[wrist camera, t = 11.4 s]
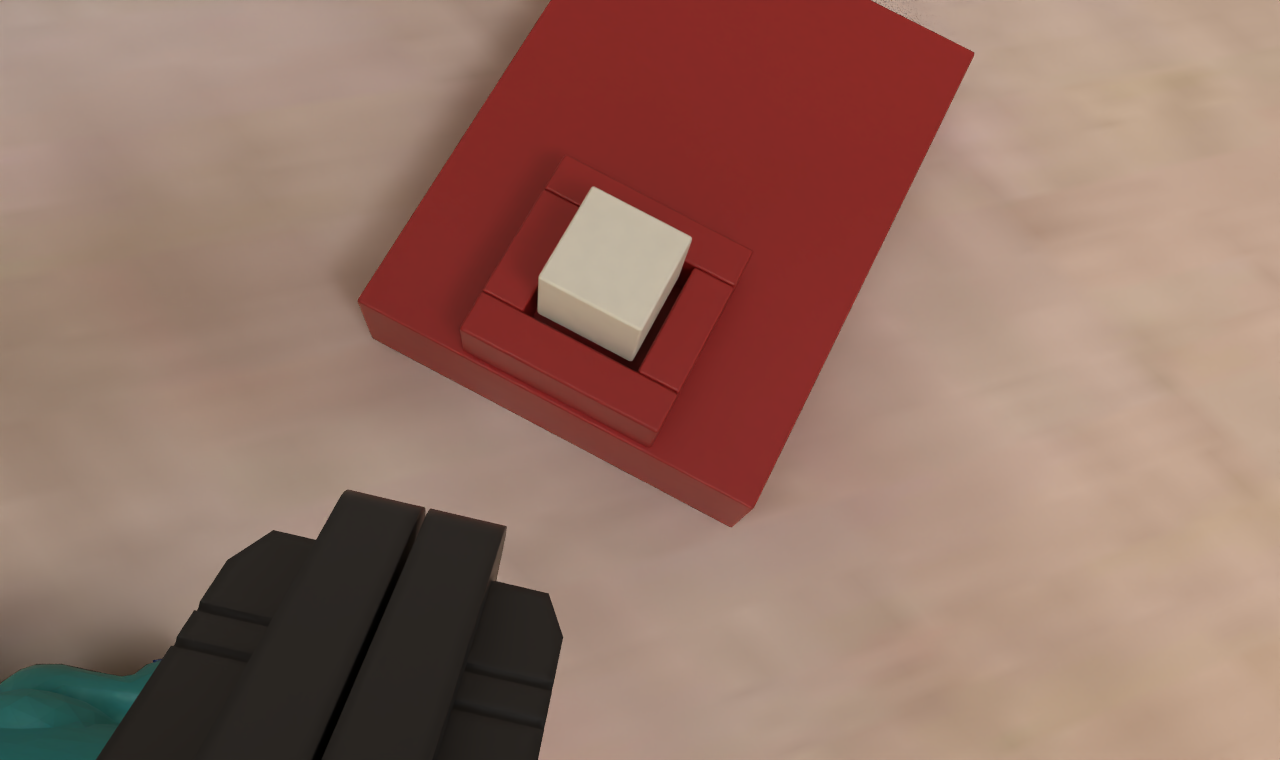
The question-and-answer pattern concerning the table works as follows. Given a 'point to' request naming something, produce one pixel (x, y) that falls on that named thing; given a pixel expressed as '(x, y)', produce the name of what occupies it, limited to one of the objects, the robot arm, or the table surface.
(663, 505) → the table surface
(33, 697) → the toy
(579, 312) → the white cube
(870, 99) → the red push button box
